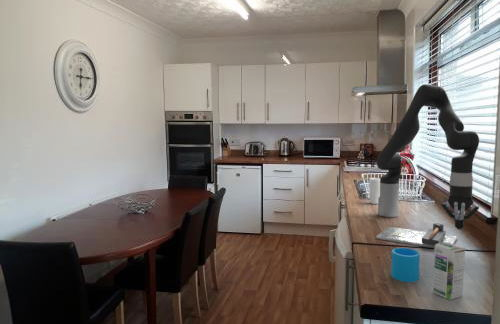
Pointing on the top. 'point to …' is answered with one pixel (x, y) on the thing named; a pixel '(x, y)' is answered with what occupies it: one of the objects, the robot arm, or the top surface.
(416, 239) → the panel
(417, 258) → the mug
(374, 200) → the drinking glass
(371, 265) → the top surface
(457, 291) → the syrup box
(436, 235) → the cable arm
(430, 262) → the top surface
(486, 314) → the top surface
